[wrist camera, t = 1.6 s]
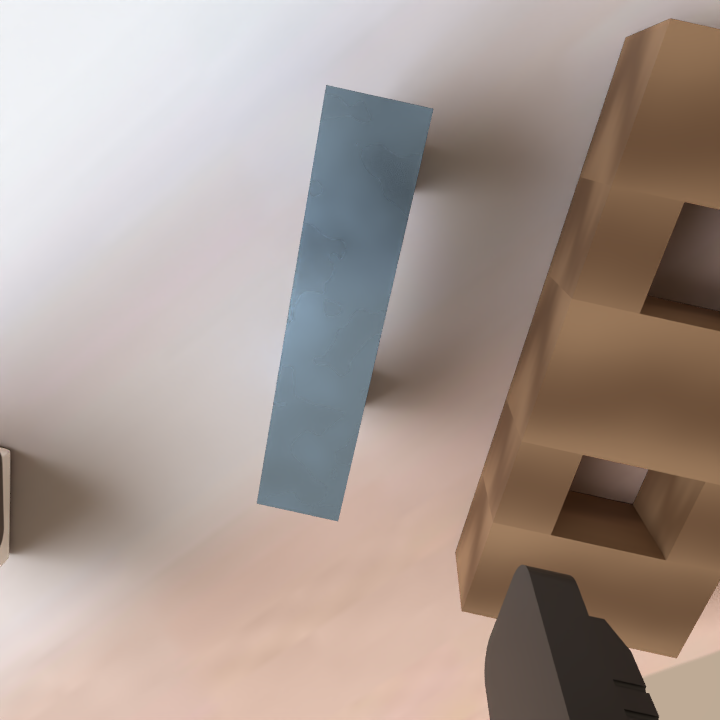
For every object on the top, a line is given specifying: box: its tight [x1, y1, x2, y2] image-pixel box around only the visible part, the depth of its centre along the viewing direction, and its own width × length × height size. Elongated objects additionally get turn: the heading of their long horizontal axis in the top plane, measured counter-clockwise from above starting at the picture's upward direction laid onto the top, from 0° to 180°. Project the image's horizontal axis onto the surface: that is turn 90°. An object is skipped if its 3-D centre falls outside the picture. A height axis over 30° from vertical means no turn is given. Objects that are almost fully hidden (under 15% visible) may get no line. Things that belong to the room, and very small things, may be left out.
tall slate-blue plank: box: [257, 85, 433, 521], centre depth 22 cm, size 14×3×8 cm, turn 168°
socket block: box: [455, 19, 720, 658], centre depth 24 cm, size 24×10×4 cm, turn 168°
